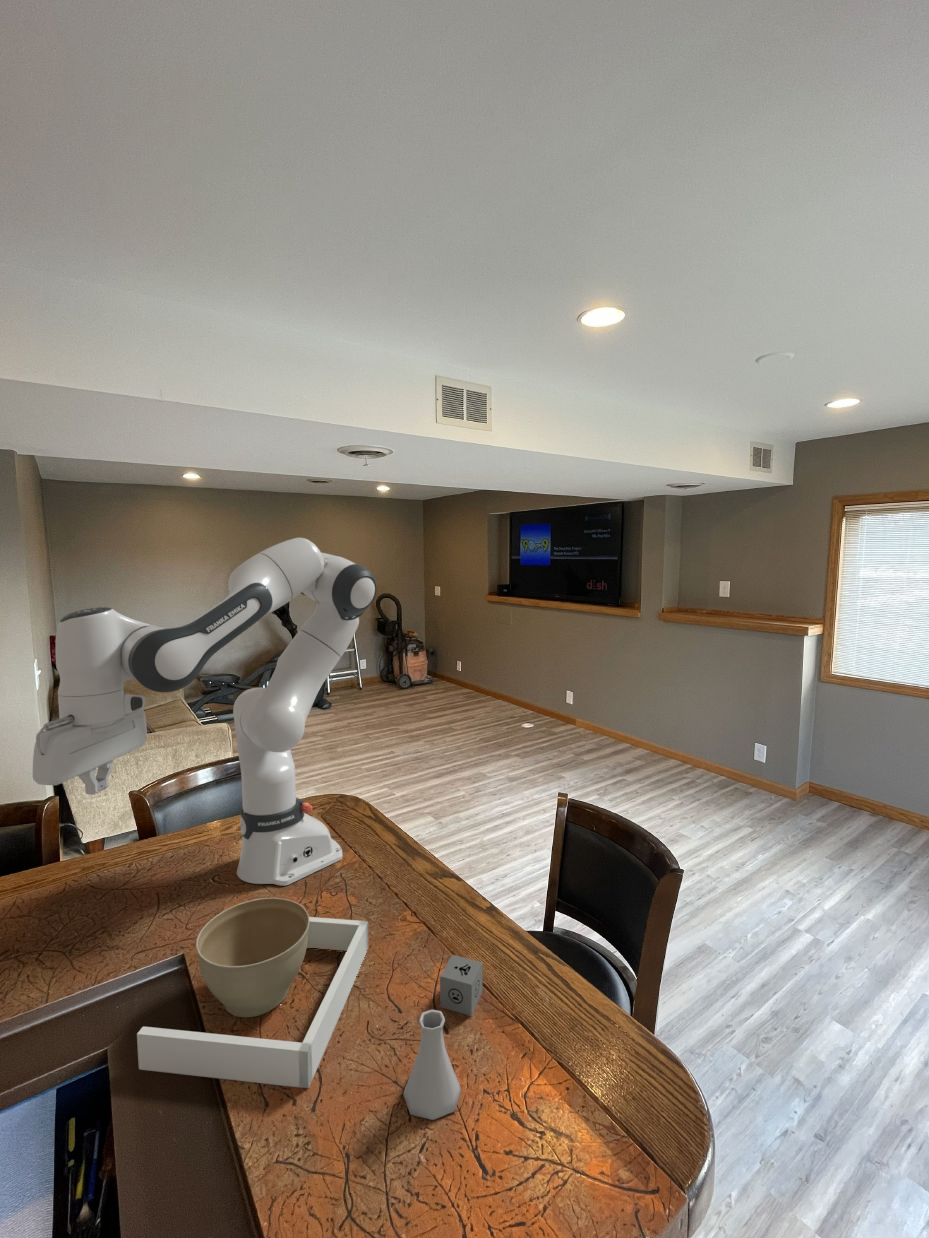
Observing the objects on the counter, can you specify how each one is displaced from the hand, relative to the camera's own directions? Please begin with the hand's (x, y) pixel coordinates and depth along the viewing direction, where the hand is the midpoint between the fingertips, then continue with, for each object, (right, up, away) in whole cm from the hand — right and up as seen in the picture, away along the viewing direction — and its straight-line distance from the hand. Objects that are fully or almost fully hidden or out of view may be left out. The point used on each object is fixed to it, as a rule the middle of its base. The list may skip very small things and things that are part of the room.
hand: (97, 791), depth 92 cm
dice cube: (+60, -30, -6) cm, 67 cm away
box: (+31, -30, -7) cm, 43 cm away
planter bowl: (+28, -30, -5) cm, 42 cm away
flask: (+56, -31, -22) cm, 68 cm away
